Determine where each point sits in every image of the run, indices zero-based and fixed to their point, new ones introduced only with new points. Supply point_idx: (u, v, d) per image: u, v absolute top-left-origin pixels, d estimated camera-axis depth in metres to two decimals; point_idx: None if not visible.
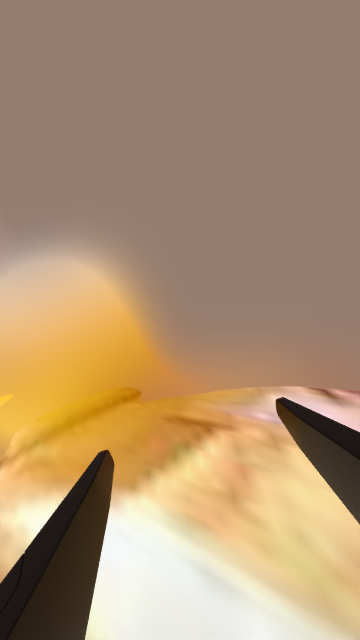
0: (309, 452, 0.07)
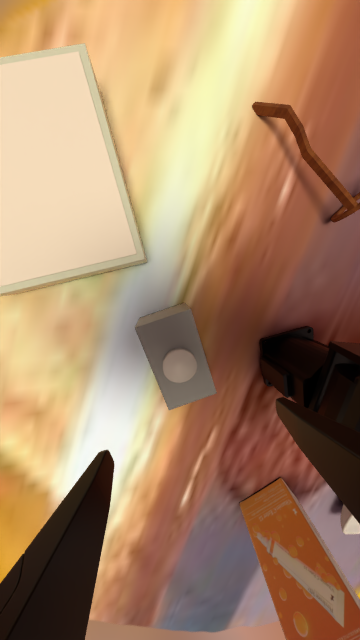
0: (309, 452, 0.07)
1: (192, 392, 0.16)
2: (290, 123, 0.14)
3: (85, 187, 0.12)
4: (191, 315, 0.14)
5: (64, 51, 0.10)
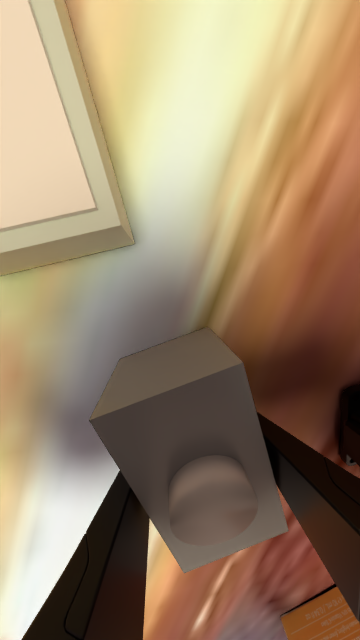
0: None
1: (237, 536, 0.07)
2: None
3: None
4: (243, 378, 0.05)
5: None
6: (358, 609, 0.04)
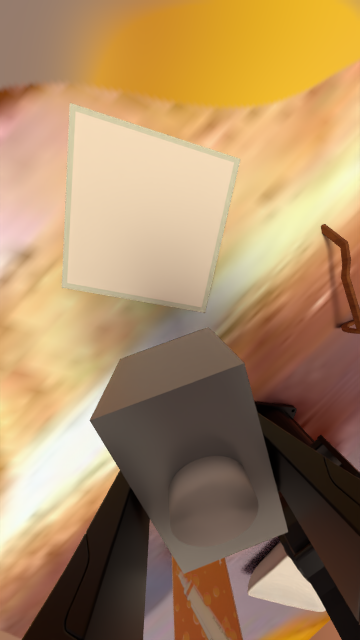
0: None
1: (237, 537, 0.07)
2: (343, 253, 0.18)
3: (190, 246, 0.15)
4: (244, 379, 0.05)
5: (224, 156, 0.14)
6: (358, 609, 0.04)
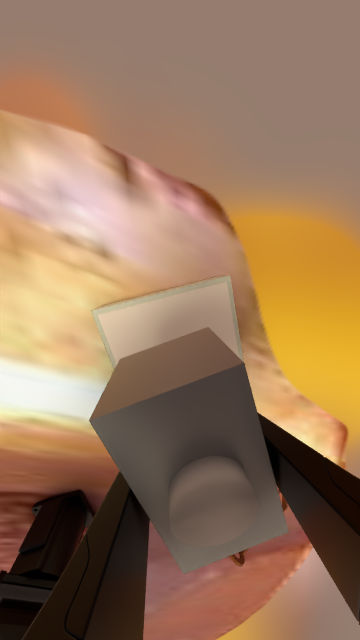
0: None
1: (237, 537, 0.07)
2: None
3: None
4: (244, 379, 0.05)
5: None
6: (358, 609, 0.04)
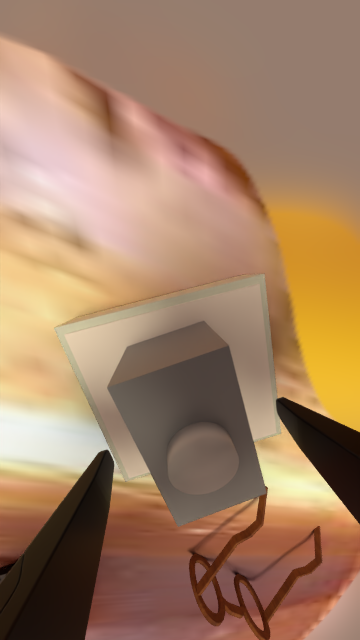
0: (309, 452, 0.07)
1: (223, 495, 0.09)
2: (253, 526, 0.18)
3: None
4: (229, 358, 0.07)
5: (277, 421, 0.13)
6: None
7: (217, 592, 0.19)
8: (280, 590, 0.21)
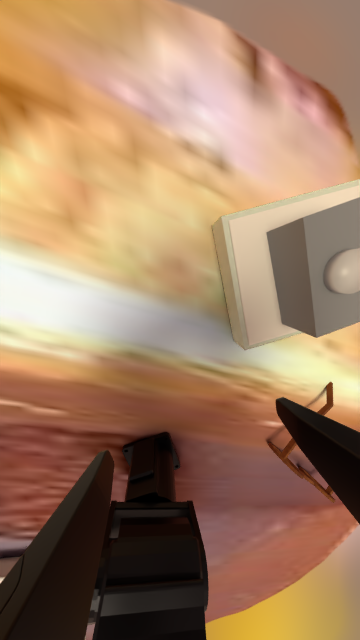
0: (309, 452, 0.07)
1: (347, 314, 0.13)
2: (324, 407, 0.23)
3: None
4: None
5: None
6: None
7: (293, 465, 0.24)
8: None
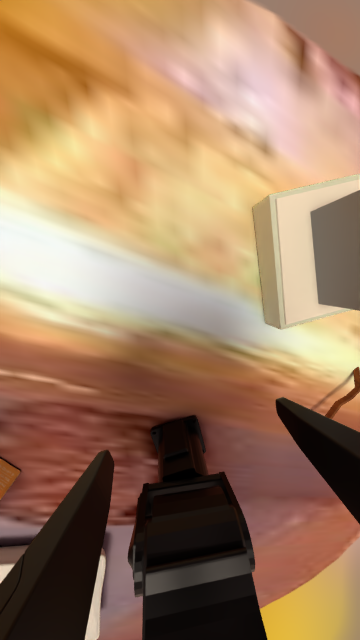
0: (309, 452, 0.07)
1: None
2: (353, 391, 0.23)
3: None
4: None
5: None
6: None
7: None
8: None
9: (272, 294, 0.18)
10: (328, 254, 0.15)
